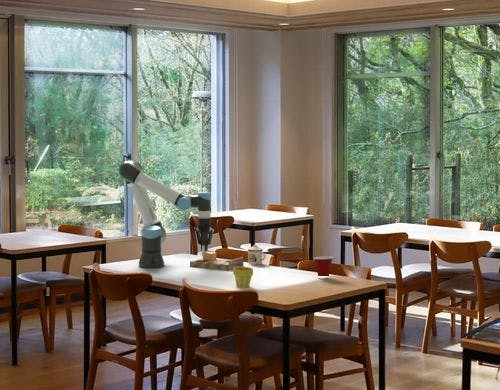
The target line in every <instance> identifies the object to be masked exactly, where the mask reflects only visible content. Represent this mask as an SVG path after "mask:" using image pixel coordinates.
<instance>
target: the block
mask: <svg viewBox="0 0 500 390" xmlns="http://www.w3.org/2000/svg"><path fill="white" fill-rule="evenodd" d="M202 258H203V260H215V259H217V252H215V251H214V252H213V251H206V252H205V253H203V257H202Z"/></svg>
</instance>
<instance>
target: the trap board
mask: <svg viewBox="0 0 500 390" xmlns="http://www.w3.org/2000/svg"><path fill="white" fill-rule="evenodd" d="M244 259H245V258H244V256H241V257H237V258H235V259H222V258H216V259H215V260H203V257H202V258H198V259H194V260H190V261H189V267H192V268H203V269H212V270H213V269H214V270H224V271H231V270H232V271H233V269H234V268H235V267H242V266H243V267H244Z"/></svg>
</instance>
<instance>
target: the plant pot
mask: <svg viewBox="0 0 500 390" xmlns="http://www.w3.org/2000/svg"><path fill="white" fill-rule="evenodd" d="M232 271H233V273H232V274H233V275H234V279H235V285H236V287H237V288H240V289H241V288H242V289H247V288H246V287H248V288H250V284H251V280H252V276H253V275H254V268H253V267H249V266H248V267H247V266H243V267H235V268H234V269H232Z"/></svg>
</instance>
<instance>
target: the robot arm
mask: <svg viewBox="0 0 500 390" xmlns="http://www.w3.org/2000/svg"><path fill="white" fill-rule="evenodd" d="M118 173H119V176H120V178H122V179H123V180H124V181H125V184H126V186H128V187H129V188H130V190H131V193H132V196H133V199H134V201H135V203H136V207H137V210H138V212H139V215H140V218H141V220H142V223H143V225H142V227H141V228H142V229H141V233H140V234H141V254H140V258H139V261H138V267H140V268H144V269H157V268H163V267H165V261H164V258H163V254H162V244H164V242H165V241H166V238H167V231H166V229H165V227H163V225H162V222H161V220H159V219H158V218H157V215H156V213H155V210H154V207H153V205H152V202H151V199H150V196H149V194H148V191H149V192H151V193H153V194H154V195H156V196H158V197H160V198H161V199H164V200H165V201H167V202H169V203H171V204H172V205H174V206H176V207H178V209H179V210H181V211H187V210H189V209H190V208H191V209H192V208H193V209H194V208H196V209H197V217H198V219H197V224H198V225H197V227H195V228H193V229H194V232H195V235H196V241H197V244H198V245H200V250H201V256H202V258H203V253H205V252H208V248H209V247H208V246H210V245H211V244H212V238H213V234H214V232H215V229H214V228H212V226H211V214H212V213H211V212H212V211H211V207H212V206H211V205H212V204H211V201H212V199H211V193H210V191H209V192H208V191H199V192H198V193H197V194H196V195H193V194H191V195H189V194H188V195H187V194H182V193H180V192H178V191H176V190H174V189H173V188H171V187H170V186H167V185H166V184H165V183H163V182H160V181H159V180H156V179H155V178H153V177H152V176H150V175H148V174H146V173H144V168H143V165H142V164H141V163H140V162H139V161H137V160H134V159H129V160H126V161H124V162H121V164H120V165H119V167H118Z"/></svg>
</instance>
